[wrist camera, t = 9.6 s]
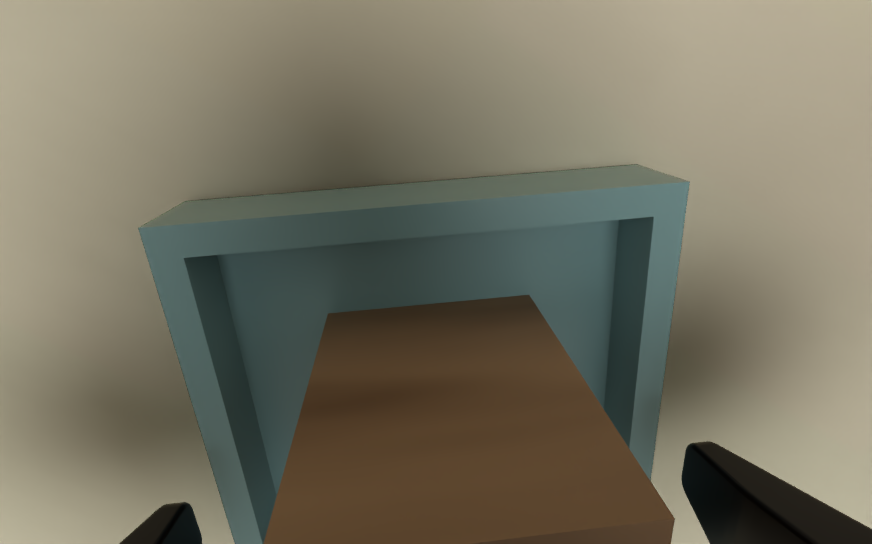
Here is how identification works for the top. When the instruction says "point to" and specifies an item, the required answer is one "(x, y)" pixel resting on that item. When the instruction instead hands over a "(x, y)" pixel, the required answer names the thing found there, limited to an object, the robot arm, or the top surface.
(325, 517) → the walnut block
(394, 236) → the teal tray
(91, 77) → the top surface
